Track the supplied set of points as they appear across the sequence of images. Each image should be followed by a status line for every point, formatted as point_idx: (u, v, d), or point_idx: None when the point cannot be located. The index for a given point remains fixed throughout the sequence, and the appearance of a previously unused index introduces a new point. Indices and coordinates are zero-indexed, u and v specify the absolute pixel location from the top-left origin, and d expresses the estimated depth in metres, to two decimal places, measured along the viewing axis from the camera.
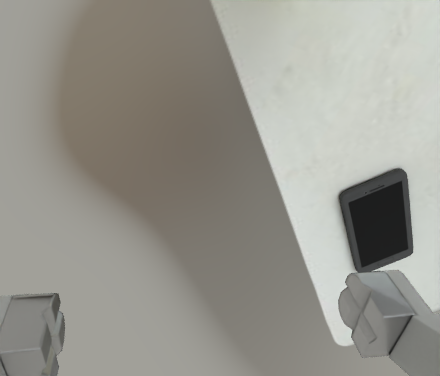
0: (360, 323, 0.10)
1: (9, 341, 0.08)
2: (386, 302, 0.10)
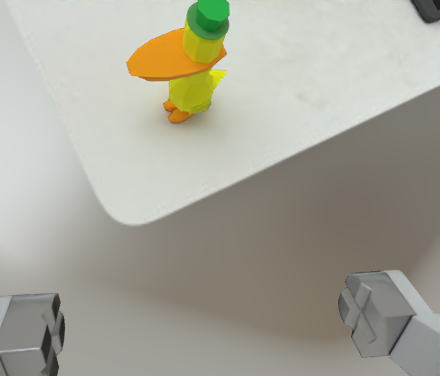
0: (360, 323, 0.10)
1: (9, 341, 0.08)
2: (386, 302, 0.10)
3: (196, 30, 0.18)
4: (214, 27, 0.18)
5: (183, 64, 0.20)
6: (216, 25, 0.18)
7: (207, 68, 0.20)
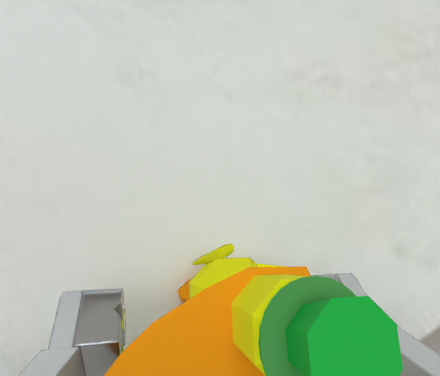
0: None
1: (87, 334, 0.08)
2: None
3: None
4: None
5: None
6: None
7: None
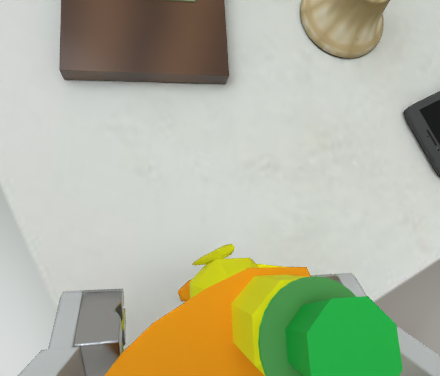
0: None
1: (88, 334, 0.08)
2: None
3: None
4: None
5: None
6: None
7: None
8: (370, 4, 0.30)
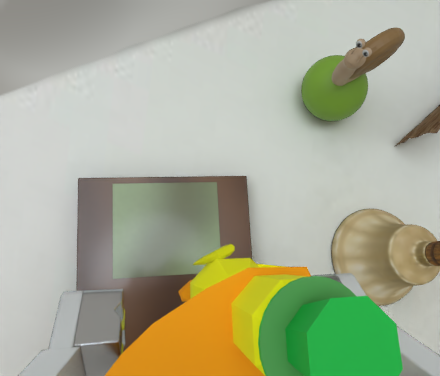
0: None
1: (88, 334, 0.08)
2: None
3: None
4: None
5: None
6: None
7: None
8: (413, 284, 0.27)
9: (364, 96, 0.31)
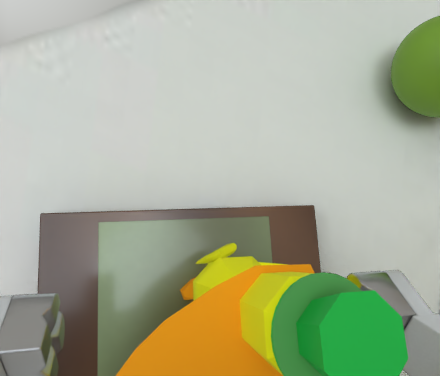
0: None
1: (9, 341, 0.08)
2: None
3: None
4: None
5: (244, 374, 0.08)
6: None
7: None
8: None
9: None
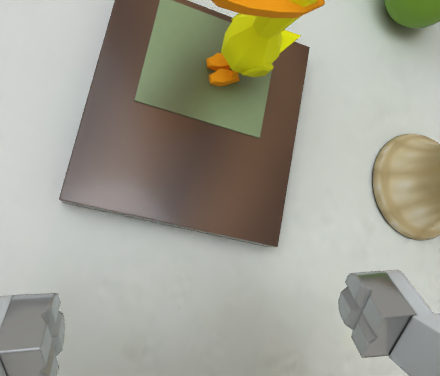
0: (360, 323, 0.10)
1: (9, 341, 0.08)
2: (386, 302, 0.10)
3: None
4: None
5: None
6: None
7: (300, 13, 0.15)
8: None
9: None
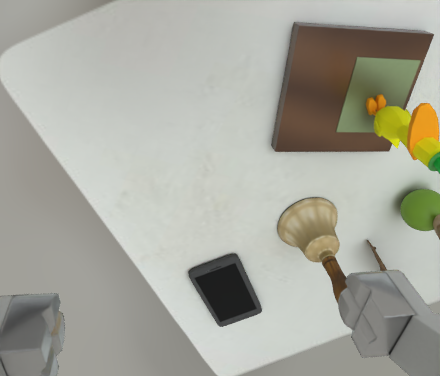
0: (360, 323, 0.10)
1: (9, 341, 0.08)
2: (386, 302, 0.10)
3: (437, 155, 0.30)
4: (435, 165, 0.31)
5: (416, 137, 0.32)
6: (437, 168, 0.31)
7: (409, 150, 0.33)
8: (305, 246, 0.45)
9: (416, 228, 0.48)
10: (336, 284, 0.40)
